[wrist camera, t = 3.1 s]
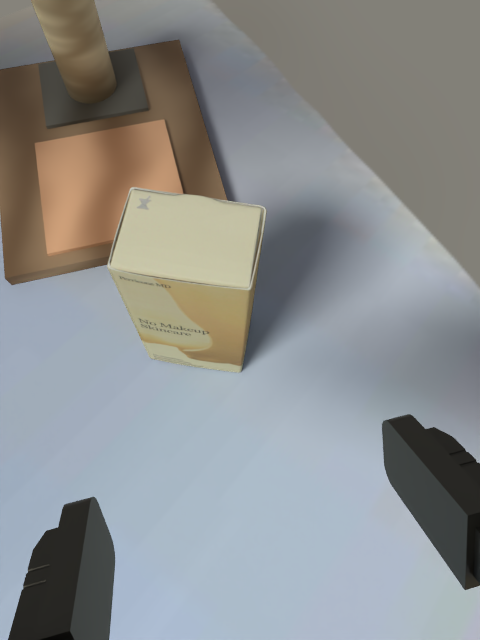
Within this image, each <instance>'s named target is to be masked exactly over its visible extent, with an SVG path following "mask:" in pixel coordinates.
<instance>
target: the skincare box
mask: <svg viewBox="0 0 480 640" xmlns="http://www.w3.org/2000/svg"><path fill="white" fill-rule="evenodd" d="M266 213H267V210H266V208H265V207H263V206H260V205H252V204H246V203H239V202H232V201H226V200H219V199H214V198H208V197H204V196H198V195H188V194H177V193H171V192H163V191H156V190H150V189H143V188H137V187H132V188H130V191H129V194H128V197H127V200H126V203H125V206H124V210H123V212H122V215H121V218H120V222H119V225H118V228H117V231H116V234H115V238H114V241H113V245H112V249H111V253H110V257H109V261H108V265H107V267H108V269H109V272H110V274H111V276H112V278H113V280H114V282H115V284H116V286H117V289H118V291H119V293H120V295H121V297H122V299H123V302H124V304H125V306H126V308H127V310H128V312H129V314H130V317H131V319H132V321H133V323H134V325H135V327H136V329H137V331H138V333H139V336H140V338H141V340H142V342H143V344H144V346H145V348H146V351H147V352H148V355H149V357H150V358H151V359H155V360H160V361H165V362H171V363H176V364H181V365H187V366H193V367H200V368H207V369H214V370H222V371H230V372H238V373H240V372H241V371H242V366H243V361H244V356H245V350H246V345H247V339H248V333H249V327H250V320H251V314H252V308H253V300H254V293H255V286H256V279H257V272H258V265H259V259H260V252H261V246H262V239H263V232H264V226H265V219H266Z"/></svg>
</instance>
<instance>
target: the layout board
mask: <svg viewBox="0 0 480 640" xmlns="http://www.w3.org/2000/svg"><path fill="white" fill-rule="evenodd" d="M31 2H32V4H33V7H34V9H35V12H36V14H37V17H38V19H39V22H40V24H41V27H42V29H43V32H44V34H45V37H46V39H47V42H48V44H49V47H50V49H51V52H52V54H53V57H54V59H55V60H54V61H48V62H42V63H36V64H30V65H24V66H18V67H12V68H6V69H1V70H0V215H1V229H2V243H3V257H4V271H5V279H6V280H7V281H8V282H9V283H10V284H11V285H14V284H19V283H23V282H28V281H32V280H37V279H42V278H46V277H51V276H56V275H60V274H65V273H70V272H74V271H79V270H84V269H88V268H93V267H97V266H102V265H107V264H108V261H109V257H110V253H111V249H112V245H113V241H114V238H115V234H116V231H117V228H118V225H119V222H120V218H121V215H122V212H123V210H124V206H125V203H126V200H127V197H128V194H129V191H130V188H132V187H137V188H143V189H150V190H156V191H163V192H171V193H177V194H188V195H198V196H204V197H208V198H214V199H219V200H226V201H227V197H226V194H225V191H224V187H223V184H222V181H221V177H220V174H219V171H218V167H217V164H216V161H215V157H214V154H213V151H212V147H211V144H210V141H209V137H208V134H207V131H206V127H205V124H204V121H203V117H202V114H201V111H200V107H199V104H198V101H197V97H196V94H195V91H194V87H193V84H192V81H191V78H190V74H189V71H188V68H187V64H186V61H185V58H184V54H183V51H182V48H181V44H180V41H179V40H174V41H168V42H162V43H156V44H150V45H144V46H138V47H132V48H126V49H120V50H114V51H108V49H107V45H106V42H105V38H104V34H103V31H102V27H101V24H100V20H99V16H98V13H97V9H96V6H95V2H94V0H31Z"/></svg>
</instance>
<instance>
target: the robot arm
mask: <svg viewBox="0 0 480 640" xmlns="http://www.w3.org/2000/svg"><path fill="white" fill-rule="evenodd" d="M382 434H383V452H384V466H385V470H386V474H387V476H388V479H389V481H390V483H391V485H392V487H393V488H394V489H395V491H396V492H397V494H398V495H399V497H400V498H401V499H402V501H403V502H404V504H405V505H406V507H407V508H408V509H409V511H410V512H411V514H412V515H413V517H414V518H415V519H416V521H417V522H418V524H419V525H420V527H421V528H422V529H423V531H424V532H425V534H426V535H427V537H428V538H429V539H430V541H431V542H432V544H433V545H434V547H435V548H436V549H437V551H438V552H439V554H440V555H441V557H442V558H443V559H444V561H445V562H446V564H447V565H448V567H449V568H450V569H451V571H452V572H453V574H454V575H455V577H456V578H457V579H458V581H459V582H460V584H461V585H462V587H463V588H464V589H465V590H467V589H470V588H473V587H477V586H480V463H477V462H476V459H475V458H474V457H473V456H472V455H471V454H470V453H468V452H466V451H465V449H464V448H463V447H462V446H461V445H460V444H459V443H458V442H457V441H456V440H455V439H454V438H453V437H452V436H450V435H448V434H446V433H444V432H442V431H440V430H438V429H436V428H435V427H433V428H429V429H425V428H424V427H423V426H422V425H421V424H420V423H419V422H418V421H417V420H416V419H415V418H414V417H413V416H412V415H410V414H408V415H404V416H400V417H396V418H393V419H389V420H385V421H383V423H382ZM114 570H115V552H114V545H113V541H112V538H111V535H110V532H109V530H108V527H107V525H106V522H105V519H104V517H103V514H102V512H101V509H100V507H99V504H98V502H97V500H96V498H95V497H91V498H87V499H83V500H80V501H76V502H72V503H68V504H65V505H64V507H63V509H62V513H61V518H60V522H59V527H58V528H55V529H51V530H47V531H46V532H45V533H44V535H43V536H42V538H41V539H40V541H39V542H38V544H37V545H36V546H35V548H34V549H33V552H32V556H31V559H30V563H29V567H28V573H27V574H26V577H25V581H24V584H23V587H24V589H23V590H22V592H21V595H20V599H19V602H18V606H17V610H16V613H15V617H14V620H13V624H12V628H11V631H10V635H9V638H8V640H109V635H110V622H111V609H112V596H113V583H114Z"/></svg>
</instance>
